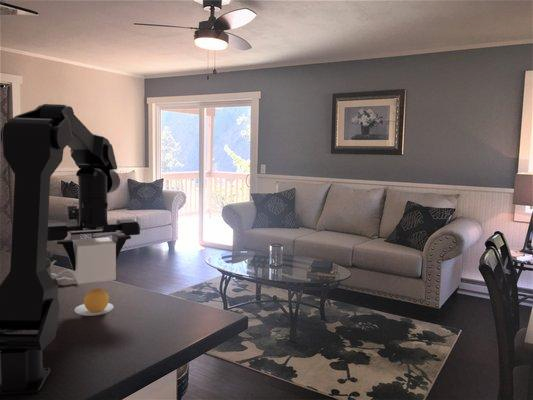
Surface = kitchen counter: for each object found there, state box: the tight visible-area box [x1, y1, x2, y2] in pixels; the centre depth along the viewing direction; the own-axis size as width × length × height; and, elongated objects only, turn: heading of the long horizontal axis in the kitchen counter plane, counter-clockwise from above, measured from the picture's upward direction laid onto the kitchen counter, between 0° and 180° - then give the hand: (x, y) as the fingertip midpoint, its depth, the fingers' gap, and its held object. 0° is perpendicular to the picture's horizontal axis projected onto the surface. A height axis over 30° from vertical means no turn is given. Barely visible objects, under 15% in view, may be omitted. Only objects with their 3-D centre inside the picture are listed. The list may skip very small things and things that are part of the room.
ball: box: [83, 288, 110, 312], centre depth 94 cm, size 5×5×5 cm
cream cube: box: [72, 237, 117, 285], centre depth 94 cm, size 8×8×8 cm
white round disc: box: [73, 302, 114, 317], centre depth 96 cm, size 8×8×1 cm
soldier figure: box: [51, 260, 77, 285], centre depth 111 cm, size 8×5×12 cm
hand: (93, 268), depth 95 cm, fingers closed on cream cube, 7 cm apart
